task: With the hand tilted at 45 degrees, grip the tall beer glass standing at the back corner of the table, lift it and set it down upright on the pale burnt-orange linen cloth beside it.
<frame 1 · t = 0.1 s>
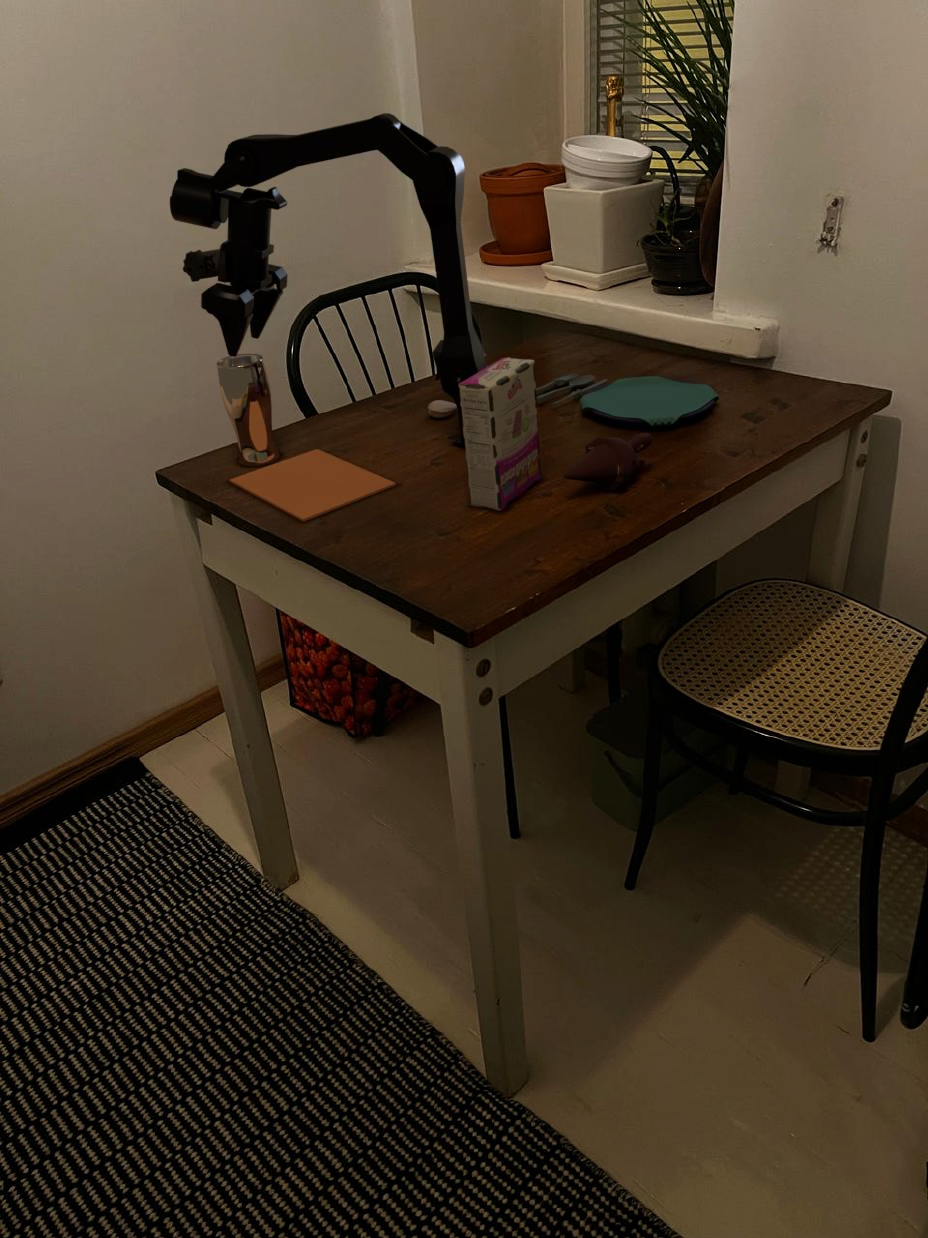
hand: (244, 346, 140), 15 cm above the table, tool pointing down, fingers open, 9 cm apart
cloth: (311, 483, 134), on the table
candy bar box: (505, 494, 126), on the table
beer glass: (259, 460, 144), on the table
grey rounded piece: (444, 416, 154), on the table
cutlery set: (621, 405, 152), on the table
icecream: (608, 488, 125), on the table
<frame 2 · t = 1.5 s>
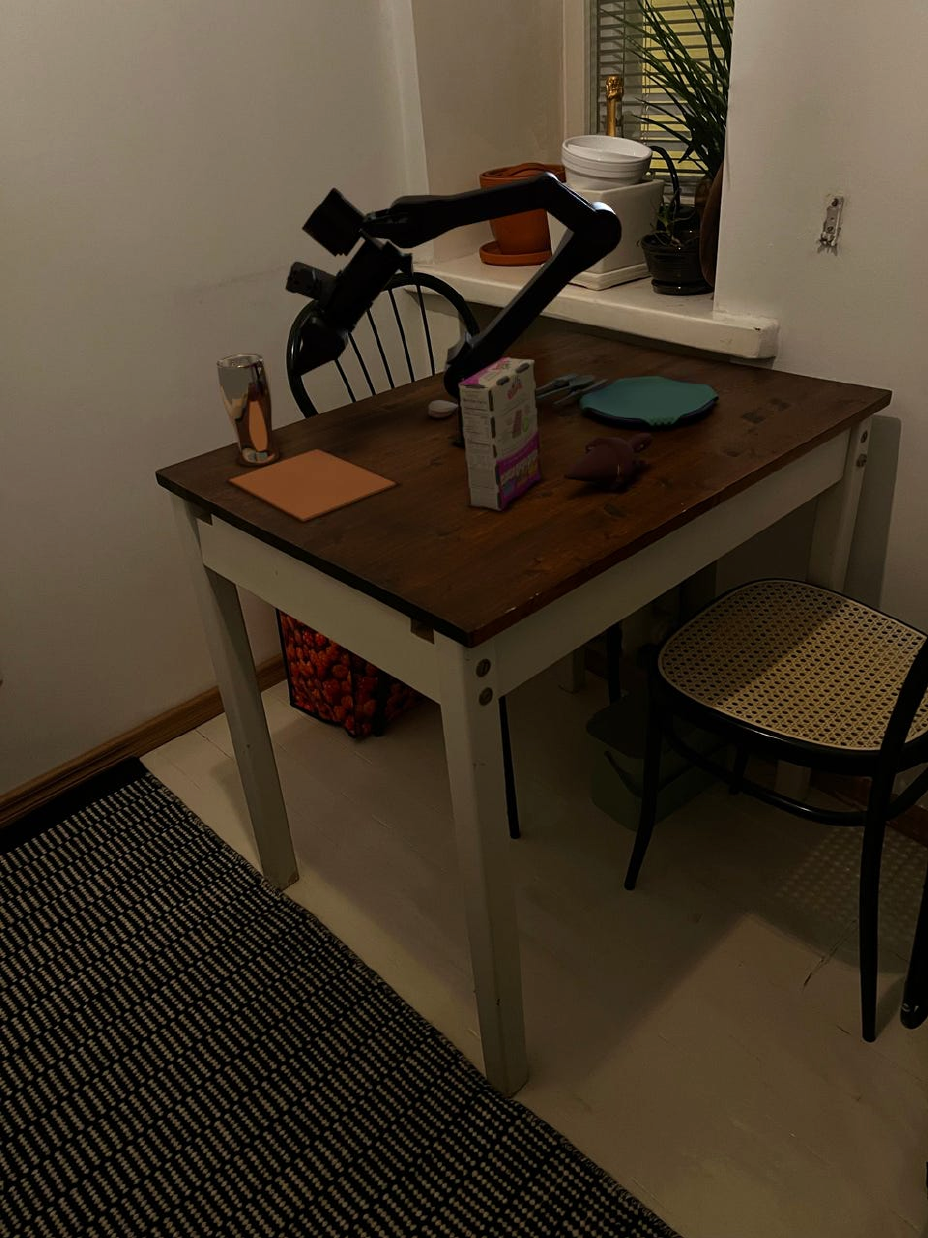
hand: (297, 366, 136), 13 cm above the table, tool tilted 45°, fingers open, 9 cm apart
nothing on the table moved.
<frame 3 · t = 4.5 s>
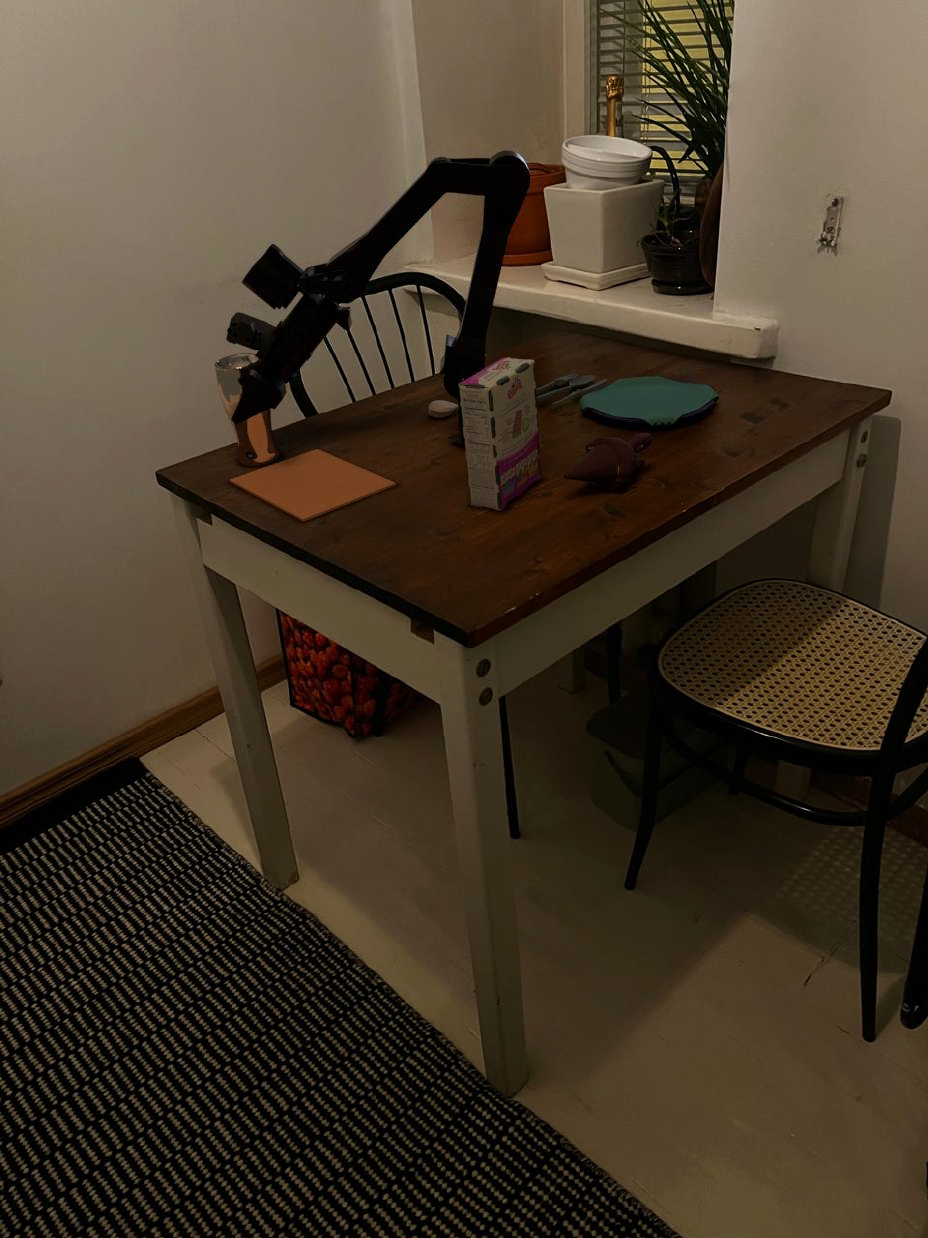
hand: (239, 412, 140), 7 cm above the table, tool tilted 45°, fingers closed on beer glass, 7 cm apart
beer glass: (260, 458, 144), on the table, touching gripper
everything else where it was.
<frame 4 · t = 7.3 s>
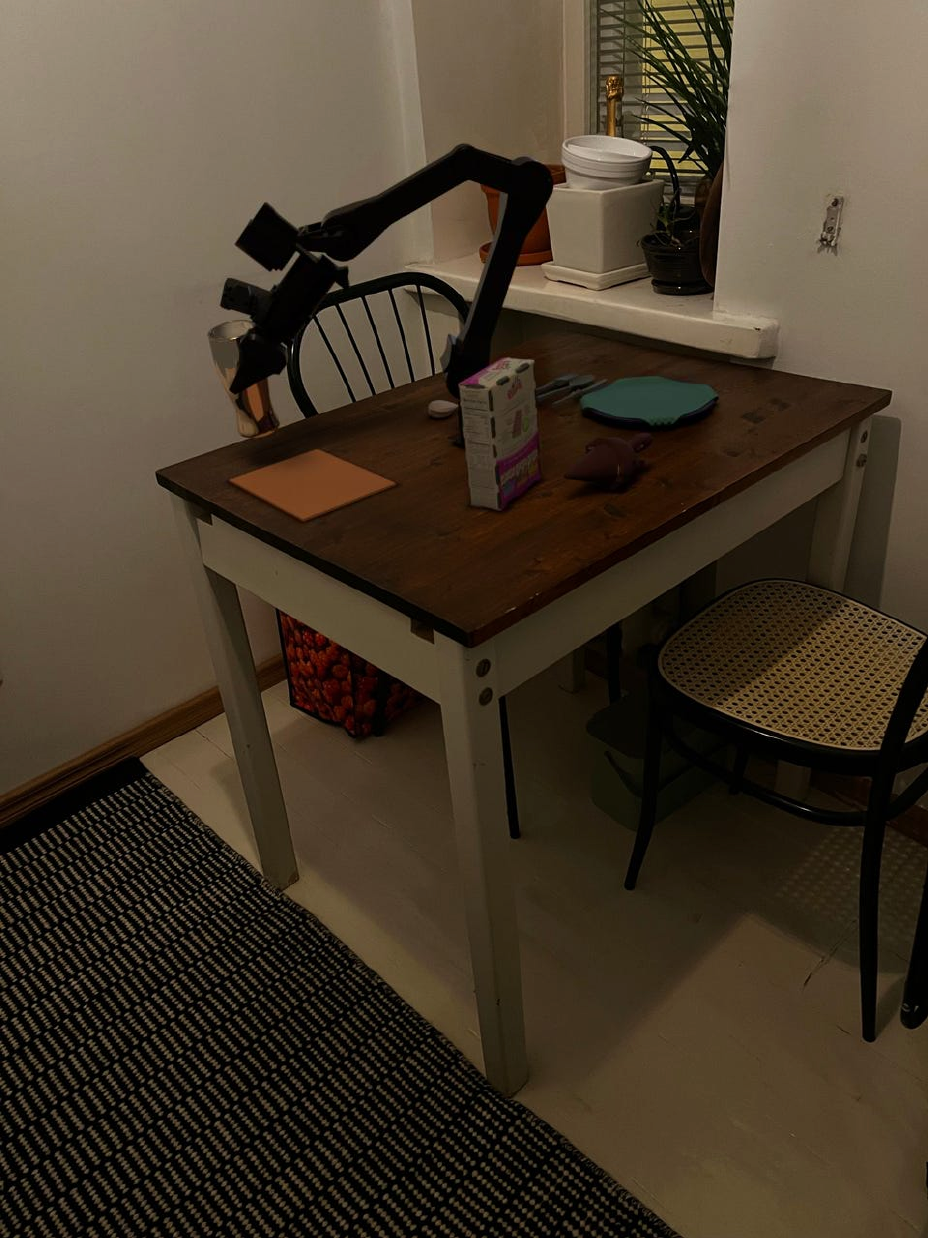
hand: (234, 384, 134), 13 cm above the table, tool tilted 45°, fingers closed on beer glass, 7 cm apart
beer glass: (259, 429, 139), point 5 cm above the table, touching gripper
everything else where it was.
when the fingers open (8 cm above the table, at t = 10.3 s): beer glass stays where it is, resting on cloth.
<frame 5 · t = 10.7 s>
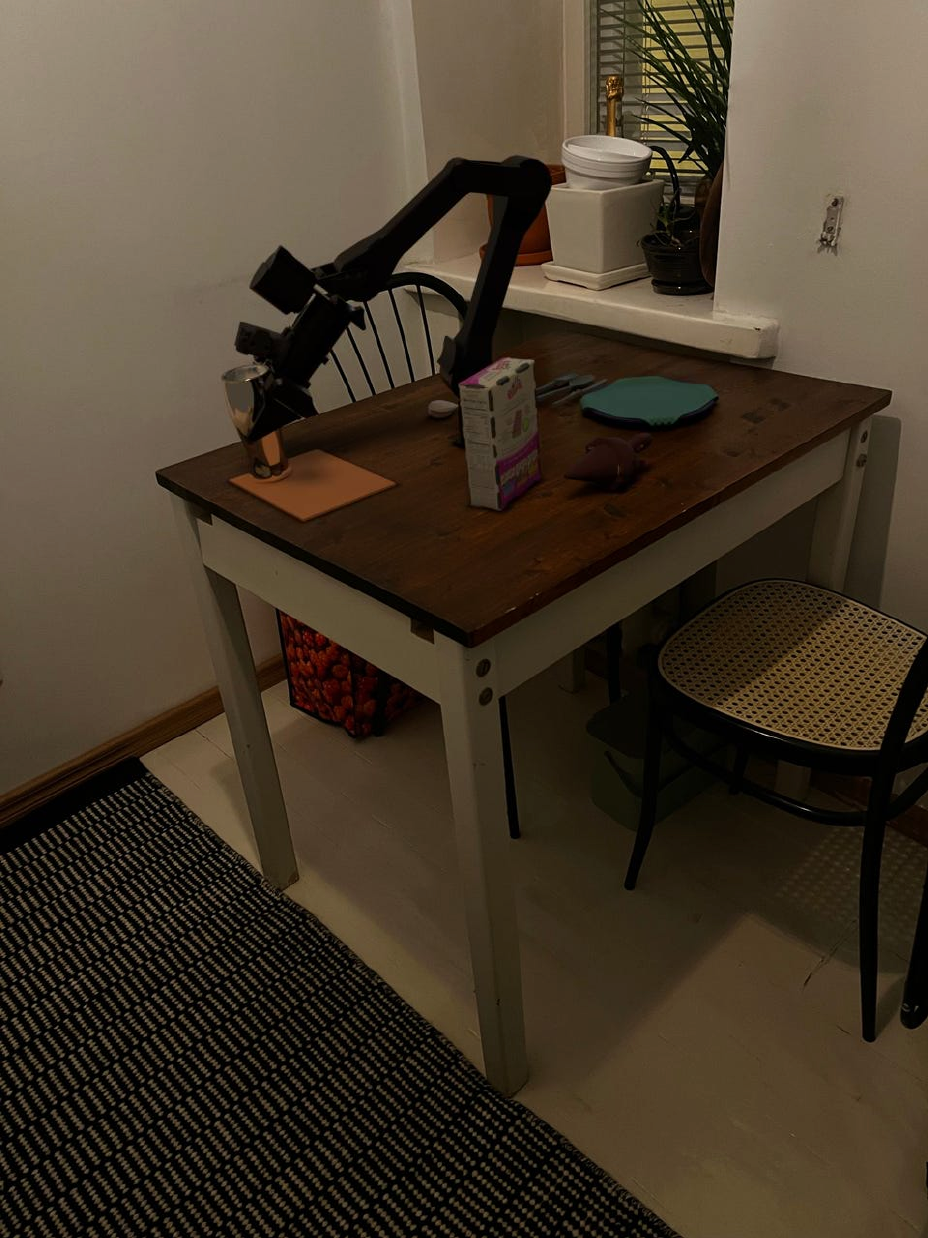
hand: (247, 429, 131), 8 cm above the table, tool tilted 45°, fingers open, 9 cm apart
beer glass: (271, 474, 137), resting on cloth, touching gripper
everything else where it was.
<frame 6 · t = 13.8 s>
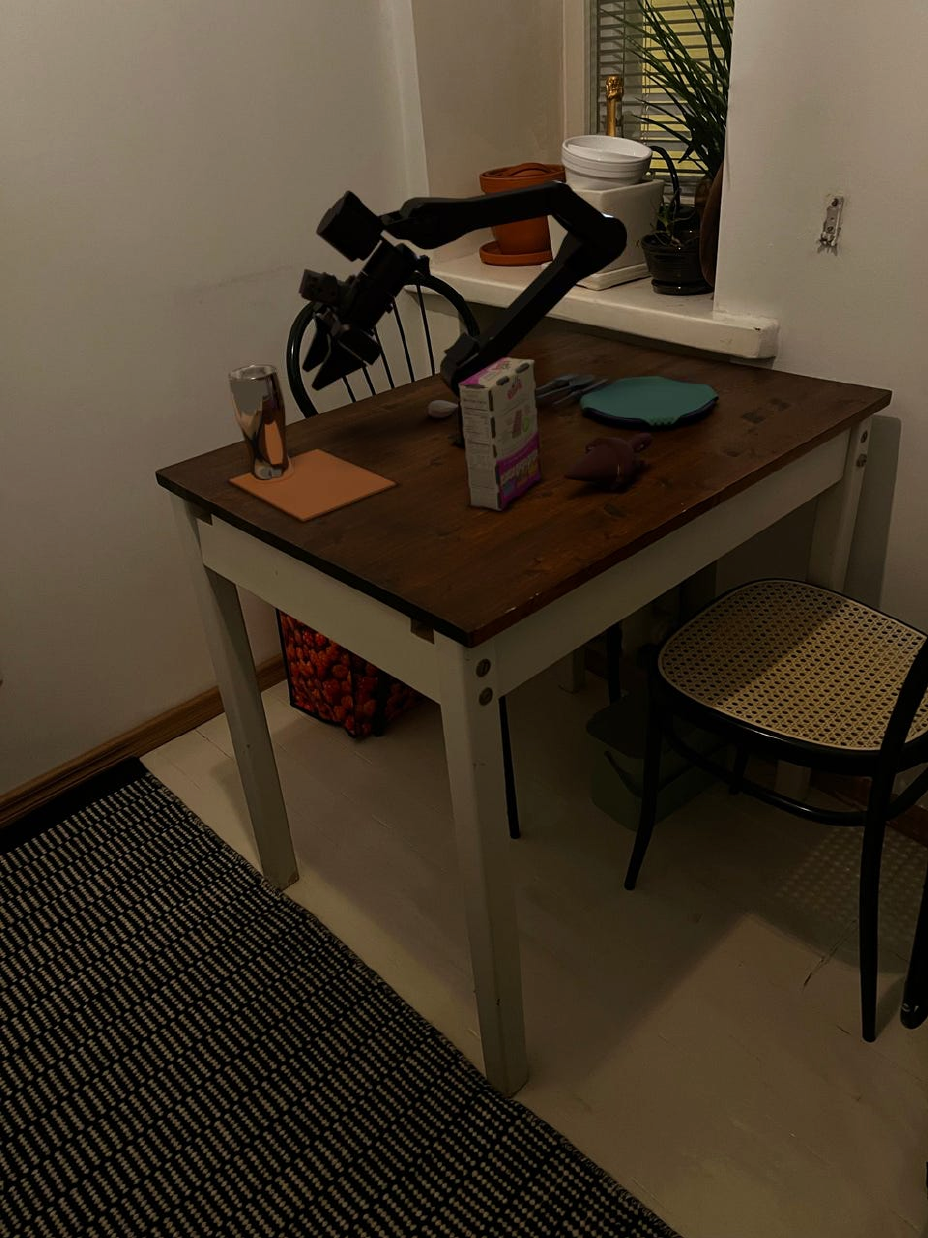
hand: (309, 379, 130), 14 cm above the table, tool tilted 45°, fingers open, 9 cm apart
beer glass: (272, 476, 137), resting on cloth
everything else where it was.
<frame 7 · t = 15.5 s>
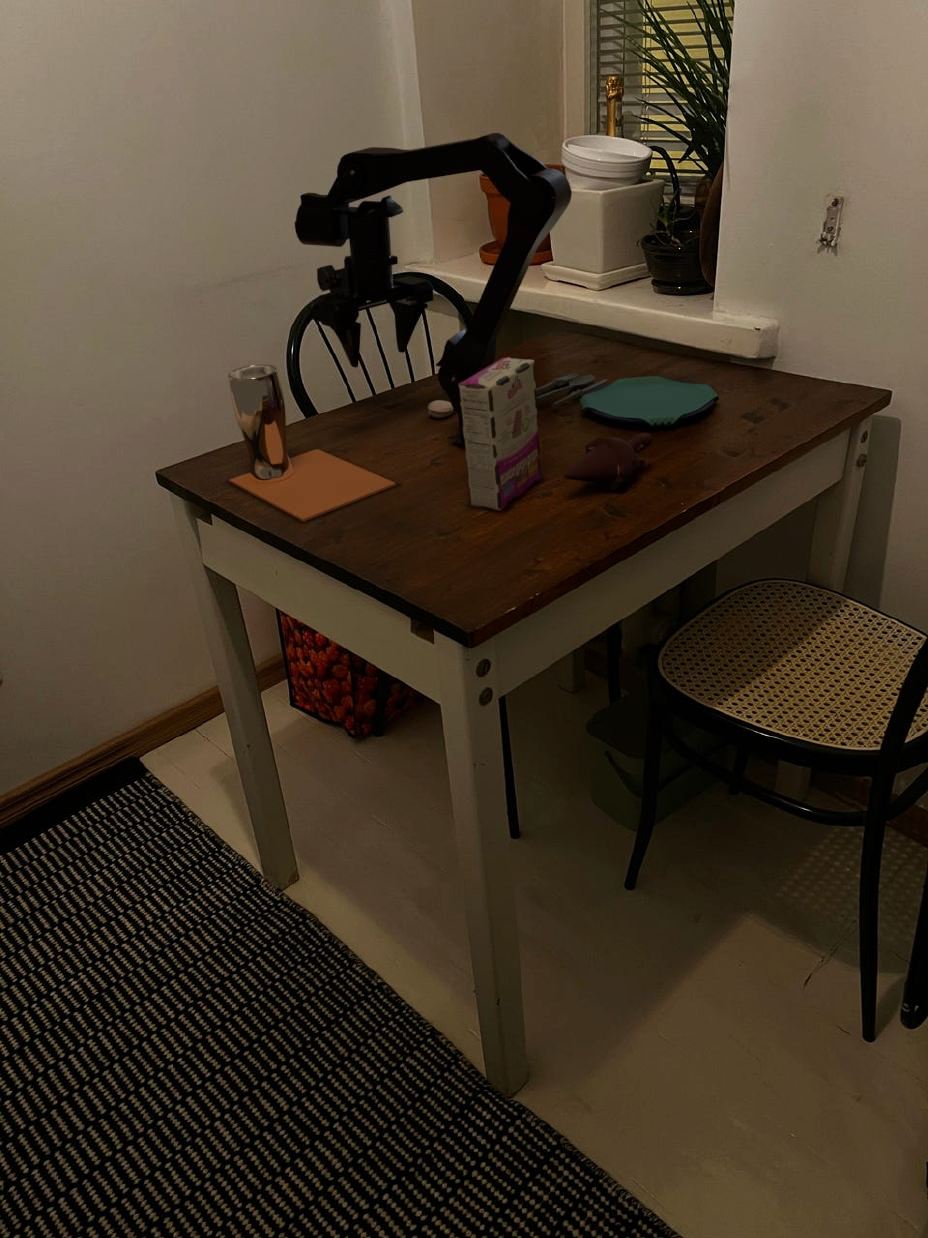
hand: (378, 359, 142), 12 cm above the table, tool pointing down, fingers open, 9 cm apart
nothing on the table moved.
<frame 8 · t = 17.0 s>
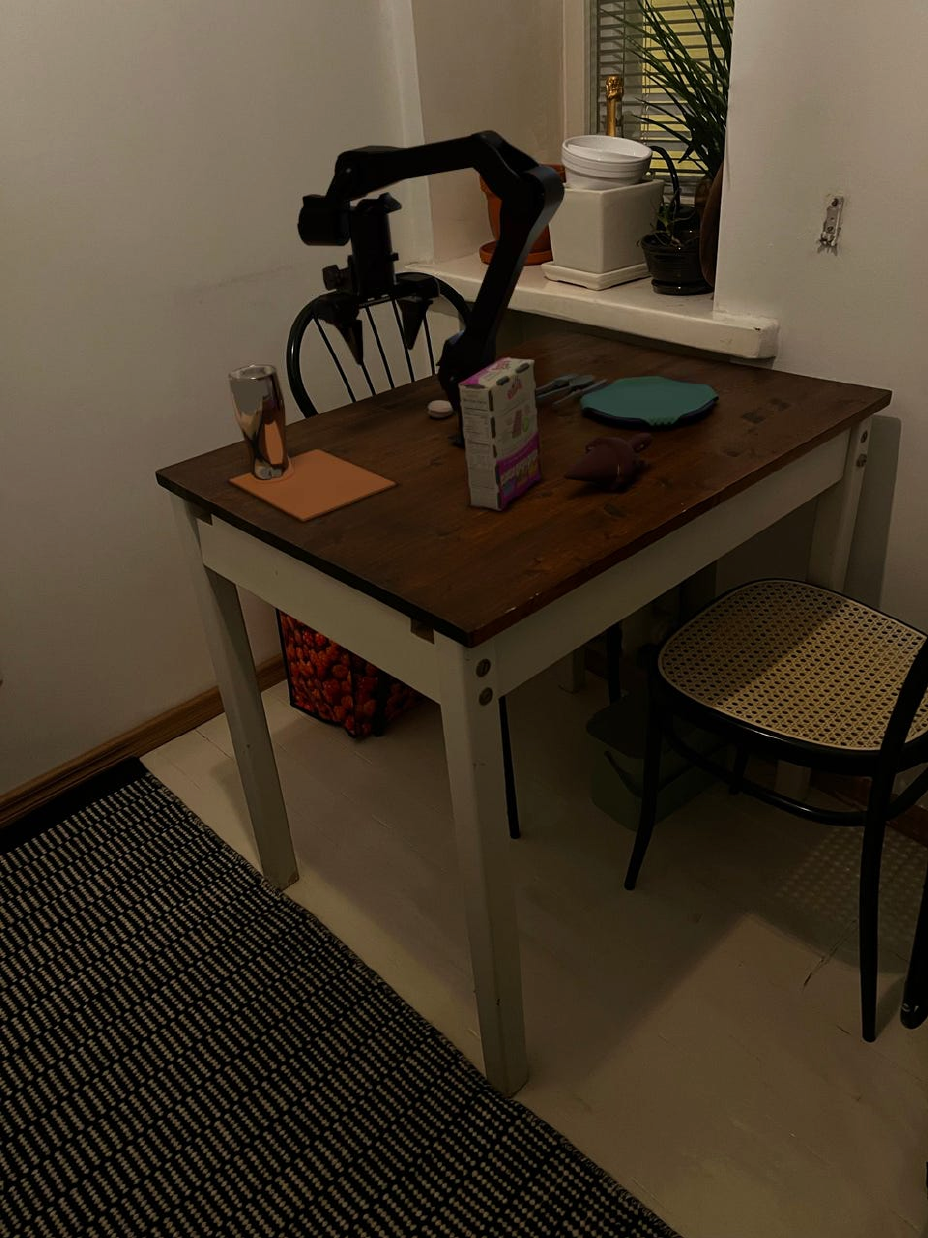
hand: (385, 356, 142), 12 cm above the table, tool pointing down, fingers open, 9 cm apart
nothing on the table moved.
at the end: beer glass inside the target area on the cloth (6.8 cm from its centre), point 0.2 cm above the cloth's base; beer glass tilted 0°; the gripper is holding nothing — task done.
